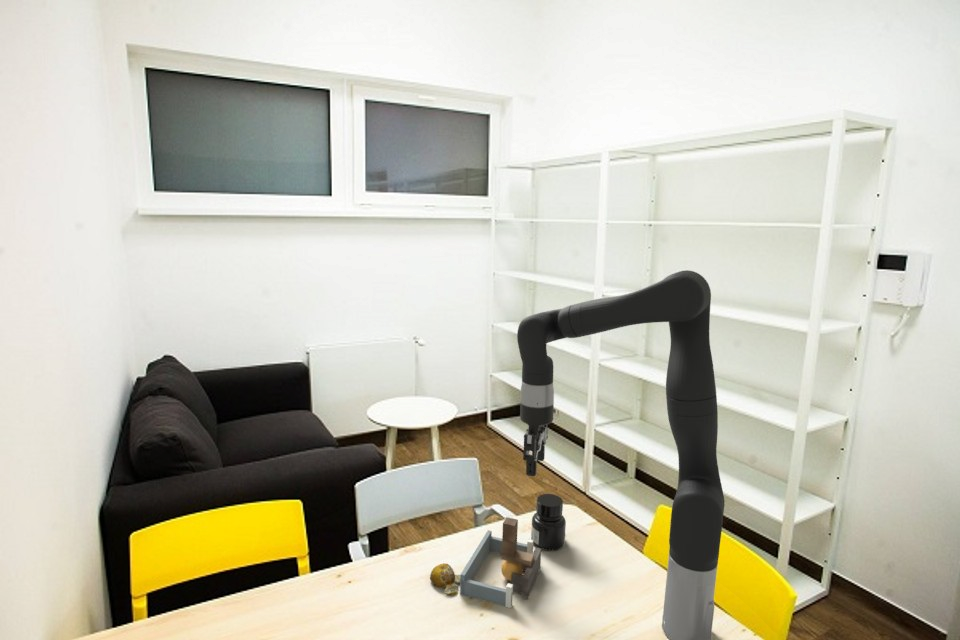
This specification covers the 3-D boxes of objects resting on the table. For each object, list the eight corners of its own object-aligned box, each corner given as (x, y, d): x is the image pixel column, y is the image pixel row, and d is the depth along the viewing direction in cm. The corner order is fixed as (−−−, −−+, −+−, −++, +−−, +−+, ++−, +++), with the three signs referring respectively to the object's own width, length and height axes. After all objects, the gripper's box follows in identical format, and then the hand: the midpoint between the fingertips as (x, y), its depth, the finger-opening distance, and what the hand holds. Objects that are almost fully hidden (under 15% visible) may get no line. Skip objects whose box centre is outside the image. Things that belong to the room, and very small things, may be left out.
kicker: (540, 567, 132) (542, 514, 130) (527, 599, 121) (530, 541, 118) (510, 560, 135) (512, 507, 132) (494, 590, 124) (496, 533, 121)
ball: (503, 568, 132) (523, 575, 130) (497, 580, 127) (517, 588, 126) (506, 550, 131) (526, 557, 129) (500, 562, 126) (520, 570, 124)
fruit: (454, 599, 122) (454, 584, 121) (422, 587, 125) (422, 573, 124) (470, 577, 129) (471, 564, 128) (440, 567, 132) (440, 554, 132)
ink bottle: (535, 528, 150) (537, 488, 147) (567, 535, 147) (570, 494, 145) (527, 548, 141) (528, 505, 138) (560, 555, 138) (563, 512, 136)
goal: (532, 558, 137) (533, 540, 136) (510, 608, 119) (511, 587, 118) (487, 547, 141) (488, 529, 140) (459, 594, 123) (460, 574, 122)
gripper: (546, 412, 115) (545, 483, 118) (559, 393, 129) (557, 457, 131) (512, 408, 118) (511, 478, 121) (528, 390, 131) (527, 453, 134)
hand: (535, 467), depth 126 cm, fingers open, 8 cm apart
